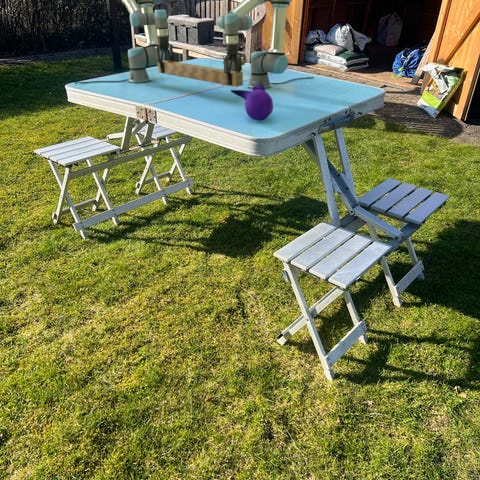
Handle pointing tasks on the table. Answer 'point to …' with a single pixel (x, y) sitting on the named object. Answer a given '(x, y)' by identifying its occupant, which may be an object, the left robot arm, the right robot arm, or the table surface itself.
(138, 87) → the table surface
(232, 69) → the teapot
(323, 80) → the table surface
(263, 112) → the toy
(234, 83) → the block
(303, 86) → the table surface
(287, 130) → the table surface
